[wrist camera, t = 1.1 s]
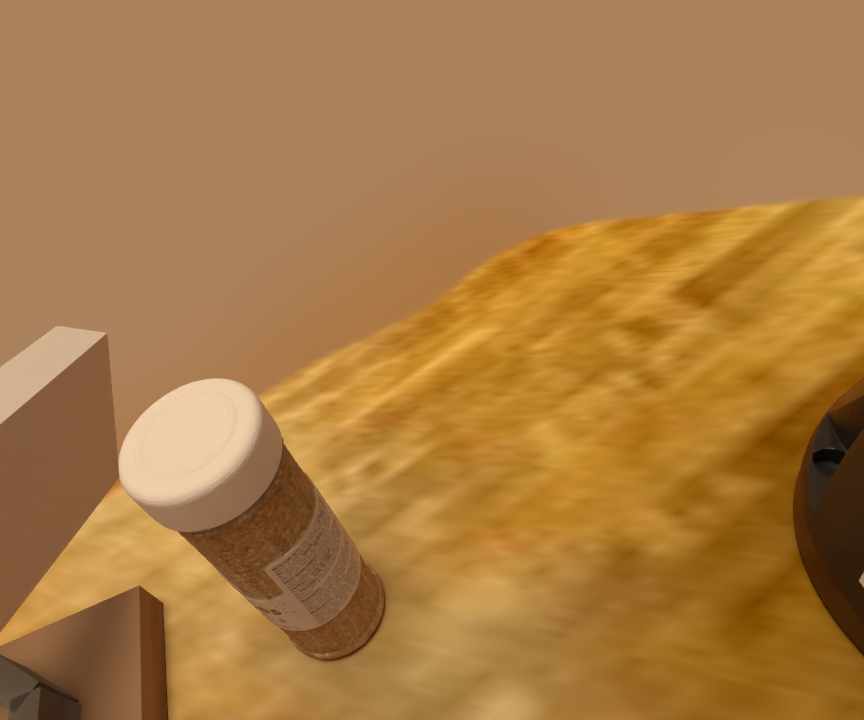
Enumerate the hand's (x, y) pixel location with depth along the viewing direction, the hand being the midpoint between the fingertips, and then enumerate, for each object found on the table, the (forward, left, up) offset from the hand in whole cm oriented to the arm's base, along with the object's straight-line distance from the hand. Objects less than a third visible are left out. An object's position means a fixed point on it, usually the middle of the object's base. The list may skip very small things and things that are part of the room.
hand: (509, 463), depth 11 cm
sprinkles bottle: (+7, -8, -18) cm, 21 cm away
